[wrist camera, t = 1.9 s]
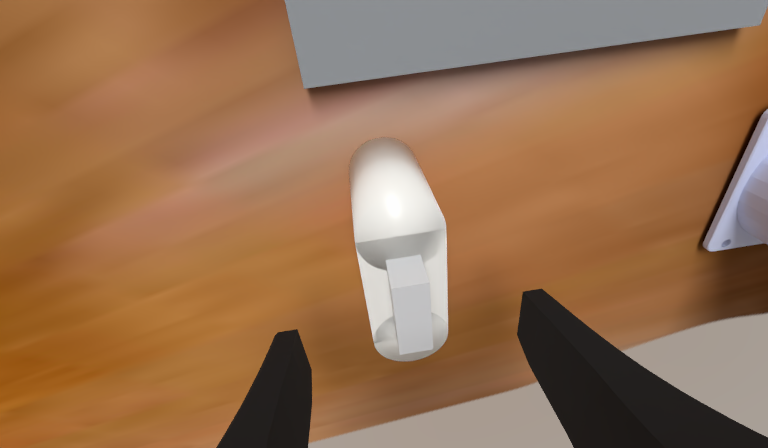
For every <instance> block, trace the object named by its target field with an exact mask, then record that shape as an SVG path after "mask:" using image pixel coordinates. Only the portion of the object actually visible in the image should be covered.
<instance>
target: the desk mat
mask: <svg viewBox="0 0 768 448" xmlns="http://www.w3.org/2000/svg"><path fill="white" fill-rule="evenodd" d="M285 4H286V8H287V13H288V17H289V22H290V26H291V31H292V36H293V40H294V45H295V49H296V54H297V58H298V63H299V67H300V72H301V77H302V81H303V86H304V89H306V88H313V87H320V86H327V85H335V84H342V83H349V82H356V81H363V80H370V79H378V78H385V77H392V76H399V75H406V74H413V73H420V72H428V71H435V70H442V69H449V68H456V67H463V66H471V65H478V64H485V63H492V62H499V61H506V60H514V59H521V58H528V57H535V56H542V55H549V54H557V53H564V52H571V51H578V50H585V49H592V48H600V47H607V46H614V45H621V44H628V43H635V42H643V41H650V40H657V39H664V38H671V37H678V36H686V35H693V34H700V33H707V32H714V31H721V30H728V29H736V28H743V27H750V26H757V25H760V24H761V21H762V19H763V16H764V14H765V11H766V9H767V6H768V0H285Z"/></svg>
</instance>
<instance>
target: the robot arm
mask: <svg viewBox="0 0 768 448" xmlns="http://www.w3.org/2000/svg"><path fill="white" fill-rule="evenodd" d="M763 243H765V244H767V245H768V109H767V110H766V111H765V112H764V113H763V114H762V116H761V118H760V120H759V122H758V124H757V127H756V129H755V131H754V133H753V135H752V137H751V140H750V142H749V144H748V146H747V148H746V150H745V153H744V155H743V157H742V159H741V161H740V163H739V166H738V168H737V170H736V172H735V174H734V177H733V179H732V181H731V183H730V185H729V187H728V190H727V192H726V194H725V196H724V198H723V200H722V203H721V205H720V207H719V209H718V211H717V213H716V216H715V218H714V220H713V222H712V224H711V226H710V229H709V231H708V233H707V235H706V237H705V240H704V242H703V247H704V248H705V249H707V250H708V251H719V250H726V249H732V248H738V247H744V246H750V245H757V244H763ZM517 336H518V338H519V341H520V343H521V346H522V348H523V351H524V353H525V356H526V358H527V361H528V363H529V365H530V367H531V369H532V371H533V373H534V375H535V377H536V378H537V380H538V382H539V384H540V386H541V388H542V389H543V391H544V393H545V395H546V397H547V398H548V400H549V402H550V404H551V406H552V408H553V409H554V411H555V413H556V415H557V417H558V418H559V420H560V422H561V424H562V426H563V428H564V429H565V431H566V433H567V435H568V437H569V439H570V441H571V443H572V445H573V447H574V448H768V437H766V436H764V435H761V434H759V433H757V432H755V431H753V430H751V429H749V428H747V427H745V426H744V425H742V424H739V423H738V422H736V421H734V420H732V419H730V418H728V417H727V416H725V415H723V414H721V413H719V412H717V411H715V410H714V409H712V408H710V407H708V406H707V405H704V404H703V403H701V402H699V401H697V400H696V399H694V398H692V397H691V396H689V395H687V394H685V393H684V392H682V391H680V390H679V389H677V388H675V387H674V386H672V385H671V384H669V383H668V382H666V381H664V380H663V379H661V378H659V377H658V376H656V375H655V374H653V373H652V372H650V371H649V370H647V369H646V368H644V367H643V366H641V365H639V364H638V363H637V362H635V361H634V360H632V359H631V358H630V357H628V356H626V355H625V354H624V353H623V352H621V351H620V350H618V349H617V348H616V347H614V346H613V345H612V344H610V343H609V342H608V341H606V340H605V339H604V338H602V337H601V336H600V335H598V334H597V333H596V332H595V331H593V330H592V329H591V328H589V327H588V326H587V325H586V324H584V323H583V322H582V321H581V320H579V319H578V318H577V317H576V316H574V315H573V314H572V313H571V312H570V311H568V310H567V309H566V308H565V307H563V306H562V305H561V304H560V303H559V302H557V301H556V300H555V299H554V298H553V297H551V296H550V295H549V294H548V293H546V292H545V291H544V290H543V289H537V290H531V291H525V292H523V296H522V303H521V310H520V317H519V325H518V332H517ZM311 408H312V372H311V367H310V364H309V361H308V358H307V356H306V353H305V350H304V347H303V344H302V341H301V339H300V336H299V333H298V330H297V329H296V330H290V331H284V332H278V333H277V334H276V335H275V337H274V339H273V342H272V344H271V346H270V349H269V351H268V353H267V355H266V357H265V360H264V362H263V364H262V366H261V368H260V370H259V372H258V374H257V376H256V378H255V380H254V382H253V384H252V386H251V388H250V390H249V392H248V394H247V396H246V398H245V400H244V401H243V403H242V405H241V407H240V409H239V410H238V412H237V414H236V416H235V417H234V419H233V421H232V422H231V424H230V426H229V428H228V429H227V431H226V433H225V435H224V436H223V438H222V439H221V441H220V443H219V444H218V446H217V447H216V448H308V440H309V430H310V419H311Z"/></svg>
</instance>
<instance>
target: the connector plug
mask: <svg viewBox="0 0 768 448" xmlns="http://www.w3.org/2000/svg"><path fill="white" fill-rule="evenodd" d="M349 180H350V192H351V203H352V214H353V226H354V237H355V245H356V250H357V256H358V261H359V266H360V272H361V277H362V282H363V288H364V293H365V298H366V304H367V309H368V314H369V320H370V325H371V330H372V336H373V341H374V345H375V348H376V350H377V351H378V352H379V353H380V354H381V355H382V356H384V357H386V358H388V359H391V360H395V361H415V360H419V359H422V358H425V357H427V356H429V355H431V354H433V353H435V352H436V351H437V350H438V349H440V348H441V347H442V345H443V344H444V343H445V341H446V339H447V336H448V293H447V236H446V222H445V219H444V217H443V214H442V212H441V210H440V208H439V206H438V204H437V202H436V200H435V197H434V195H433V193H432V191H431V189H430V187H429V185H428V183H427V180H426V178H425V176H424V174H423V172H422V170H421V168H420V166H419V163H418V161H417V159H416V157H415V155H414V153H413V151H412V150H411V149H410V148H409V147H408V146H407V145H406V144H405V143H403V142H402V141H400V140H398V139H394V138H389V137H380V138H375V139H372V140H369V141H367V142H366V143H364V144H362V145H361V146H360V147H359V148H358V149H357V150H356V151H355V153H354V154H353V156H352V158H351V160H350V164H349Z"/></svg>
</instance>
